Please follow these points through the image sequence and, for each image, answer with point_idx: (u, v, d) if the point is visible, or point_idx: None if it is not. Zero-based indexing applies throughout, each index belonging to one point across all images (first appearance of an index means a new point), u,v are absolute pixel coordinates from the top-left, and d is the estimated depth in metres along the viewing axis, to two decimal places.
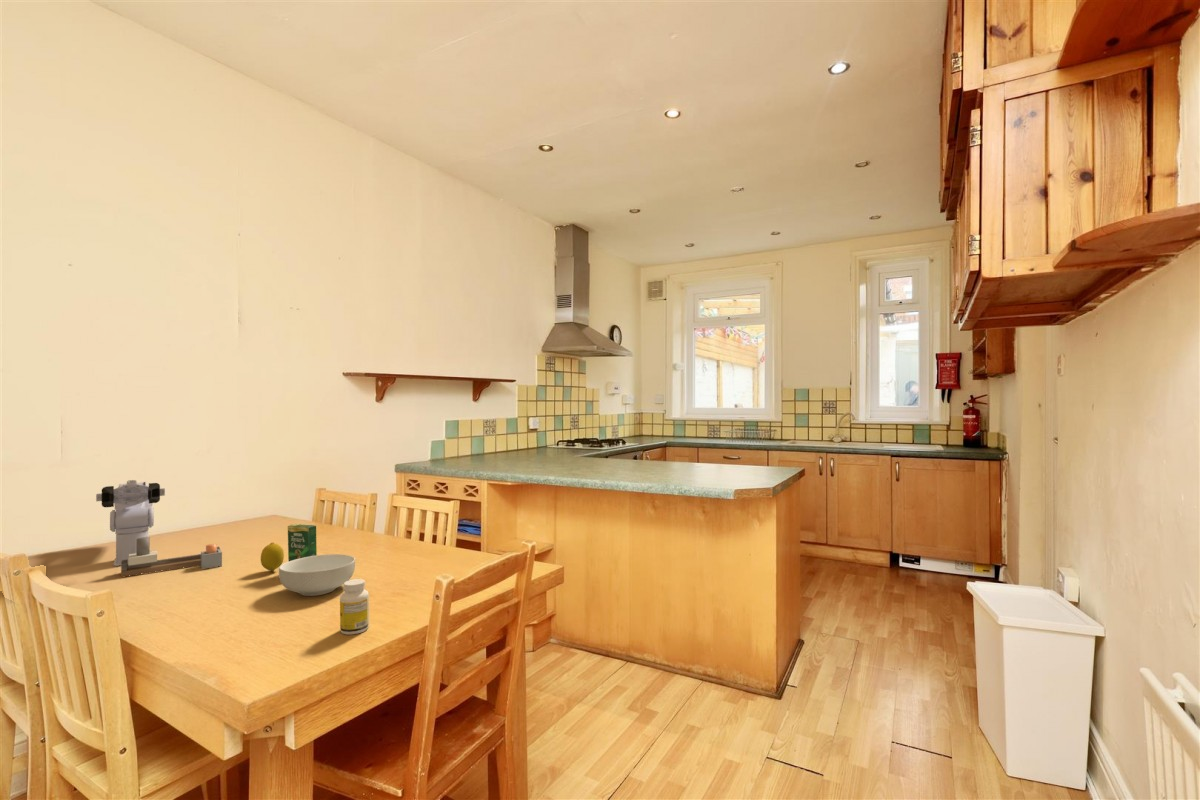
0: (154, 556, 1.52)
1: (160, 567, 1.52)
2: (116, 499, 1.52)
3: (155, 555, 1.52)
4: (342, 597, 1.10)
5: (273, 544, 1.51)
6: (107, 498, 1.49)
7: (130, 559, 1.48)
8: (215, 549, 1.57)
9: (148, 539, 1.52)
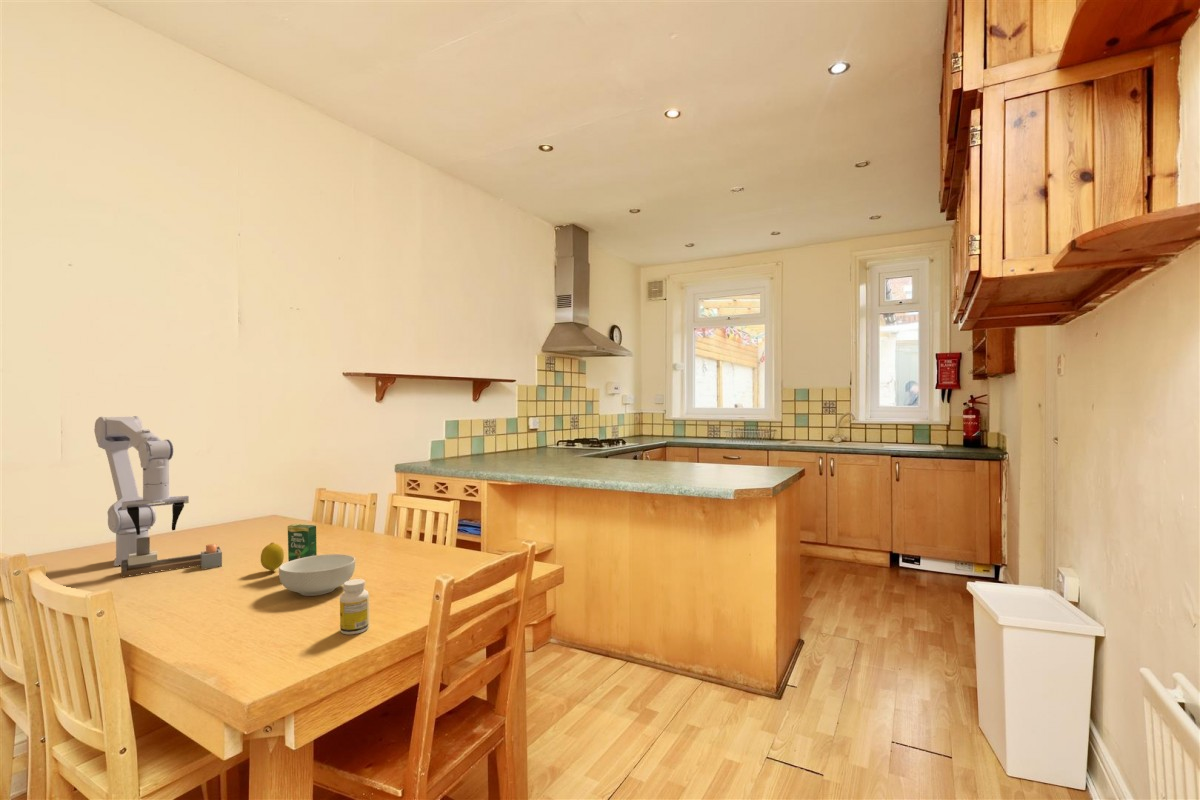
0: (154, 556, 1.52)
1: (160, 567, 1.52)
2: None
3: (155, 555, 1.52)
4: (342, 597, 1.10)
5: (273, 544, 1.51)
6: None
7: (130, 559, 1.48)
8: (215, 549, 1.57)
9: (148, 539, 1.52)
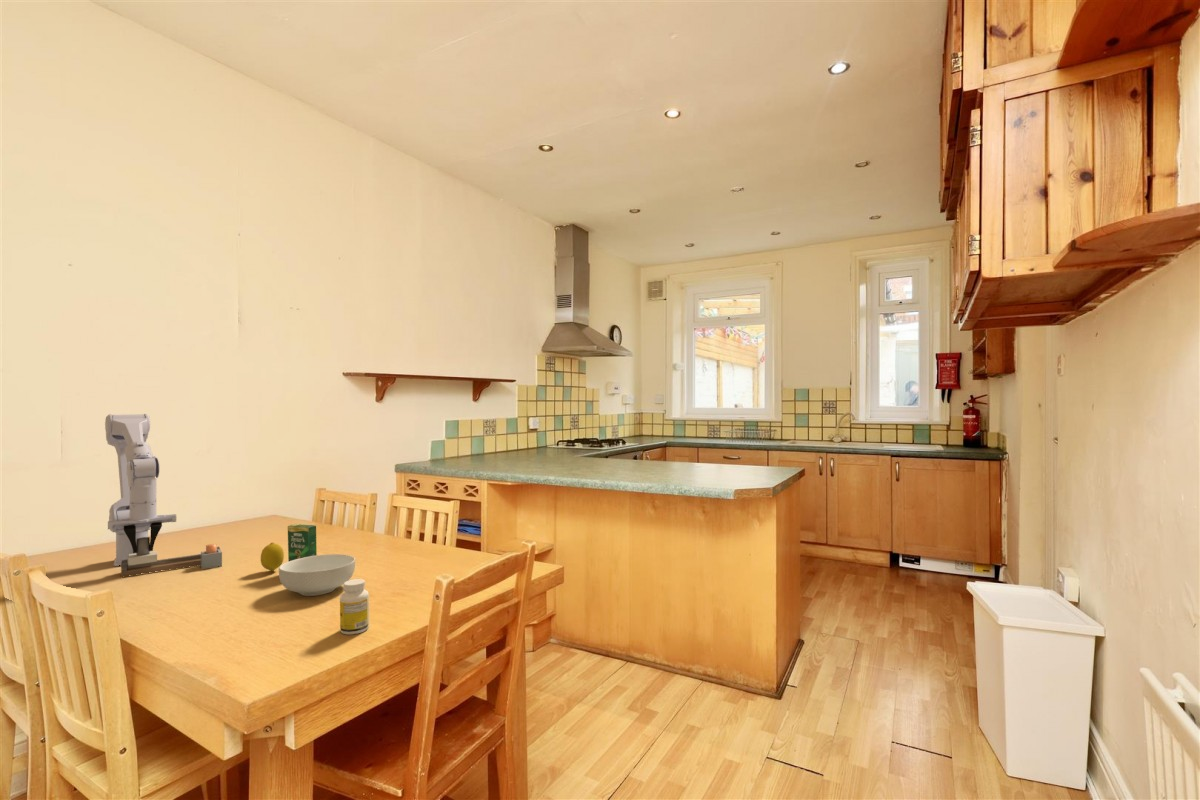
0: (154, 556, 1.52)
1: (160, 567, 1.52)
2: None
3: (155, 555, 1.52)
4: (342, 597, 1.10)
5: (273, 544, 1.51)
6: None
7: (130, 559, 1.48)
8: (215, 549, 1.57)
9: (148, 539, 1.52)
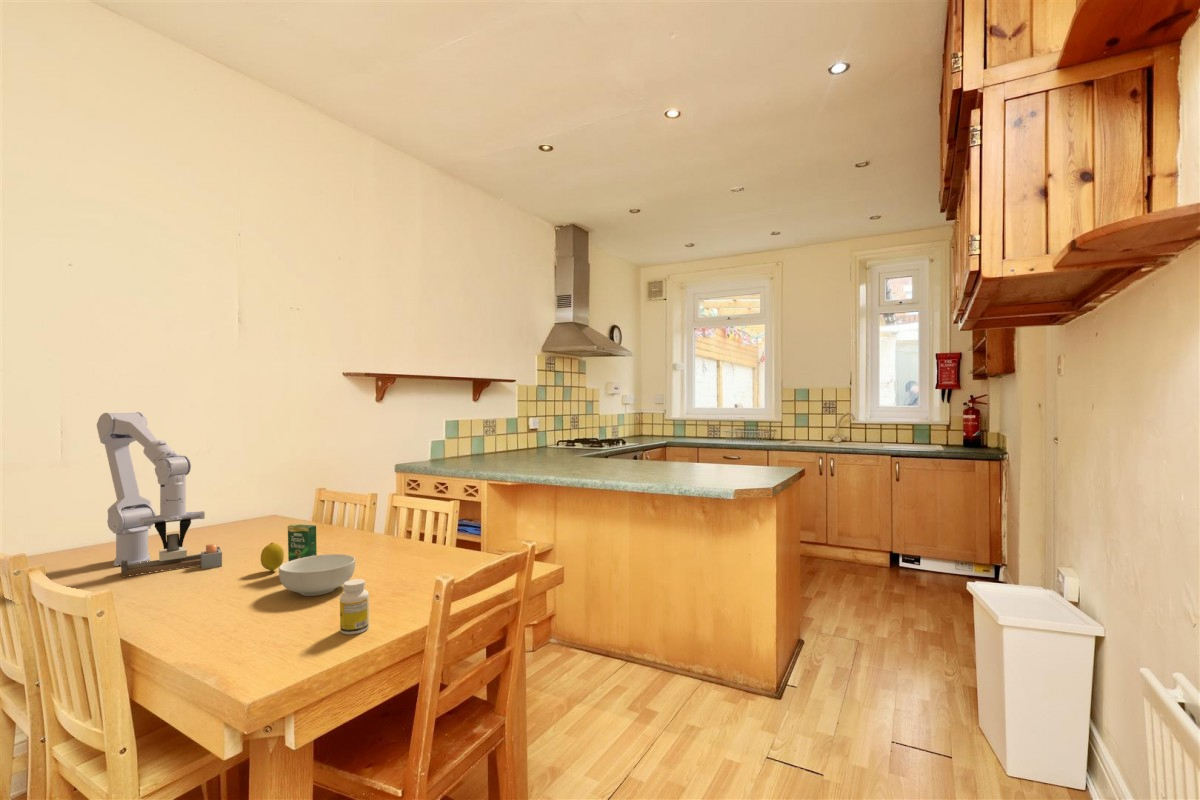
0: (184, 552, 1.56)
1: (160, 567, 1.52)
2: None
3: (185, 551, 1.56)
4: (342, 597, 1.10)
5: (273, 544, 1.51)
6: None
7: (161, 555, 1.53)
8: (215, 549, 1.57)
9: (178, 535, 1.56)
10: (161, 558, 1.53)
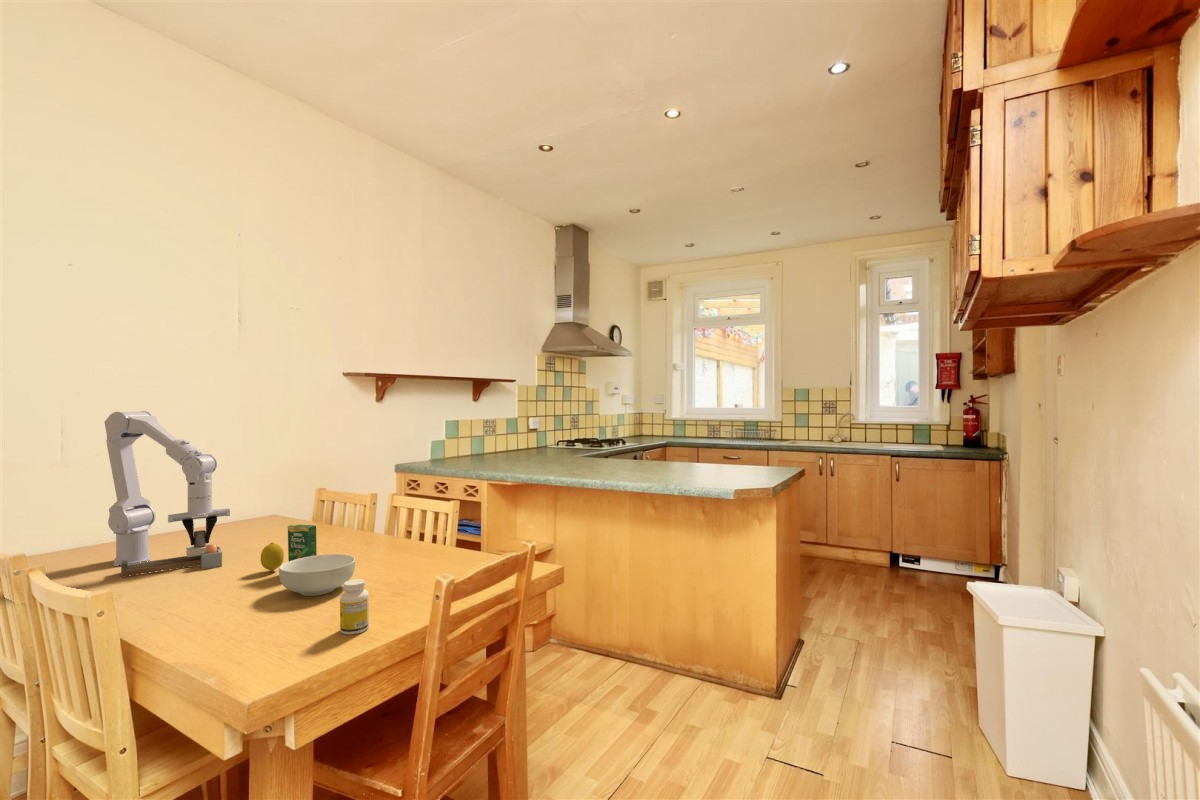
0: None
1: (160, 567, 1.52)
2: None
3: None
4: (342, 597, 1.10)
5: (273, 544, 1.51)
6: None
7: (189, 551, 1.56)
8: (215, 549, 1.57)
9: (204, 532, 1.60)
10: (189, 554, 1.56)
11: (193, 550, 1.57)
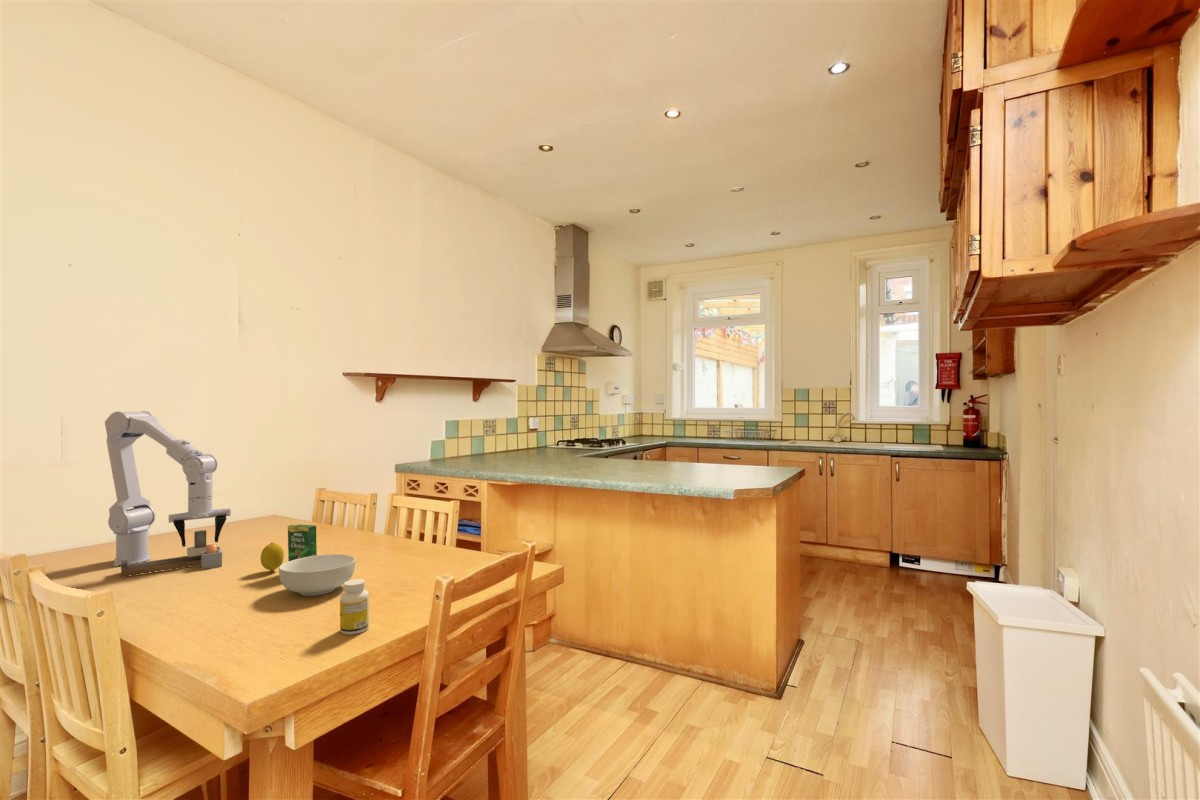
0: None
1: (160, 567, 1.52)
2: None
3: None
4: (342, 597, 1.10)
5: (273, 544, 1.51)
6: None
7: (189, 551, 1.57)
8: (215, 549, 1.57)
9: (205, 532, 1.60)
10: (189, 554, 1.57)
11: (194, 550, 1.57)
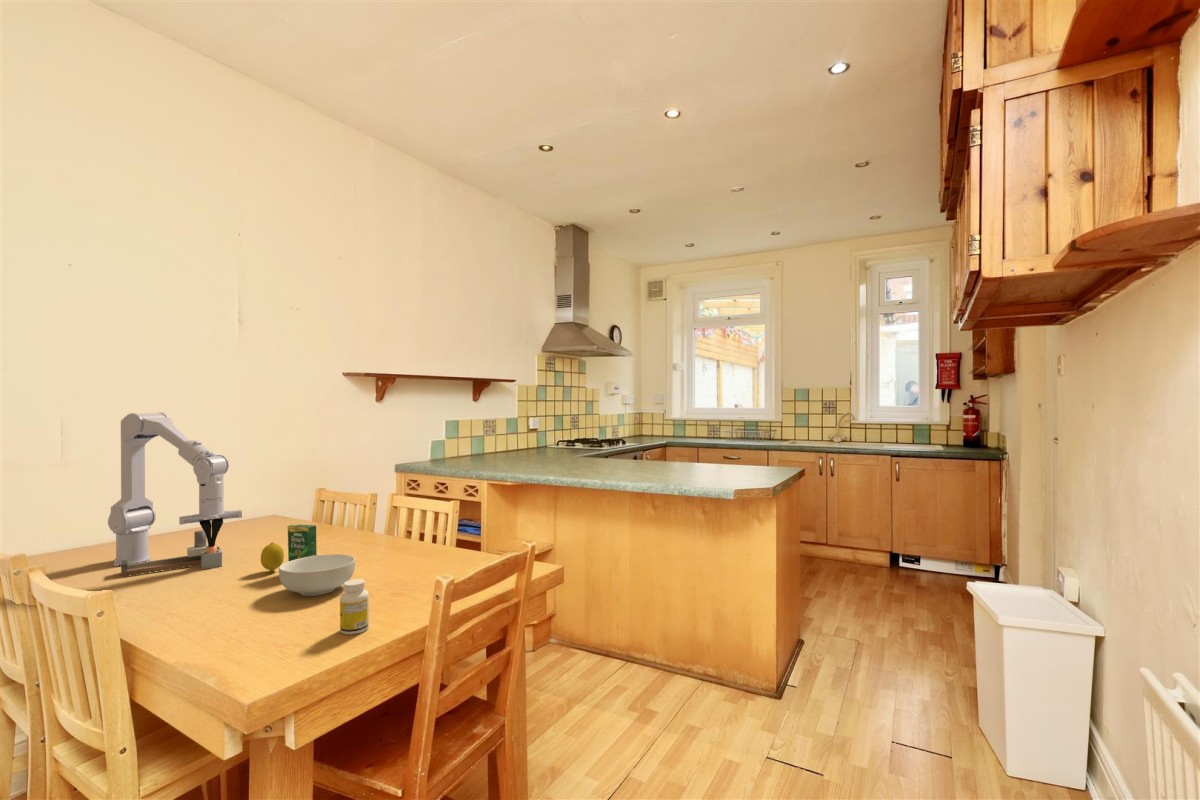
0: None
1: (160, 567, 1.52)
2: None
3: None
4: (342, 597, 1.10)
5: (273, 544, 1.51)
6: None
7: (189, 551, 1.57)
8: (215, 550, 1.57)
9: None
10: (189, 554, 1.57)
11: (194, 550, 1.57)
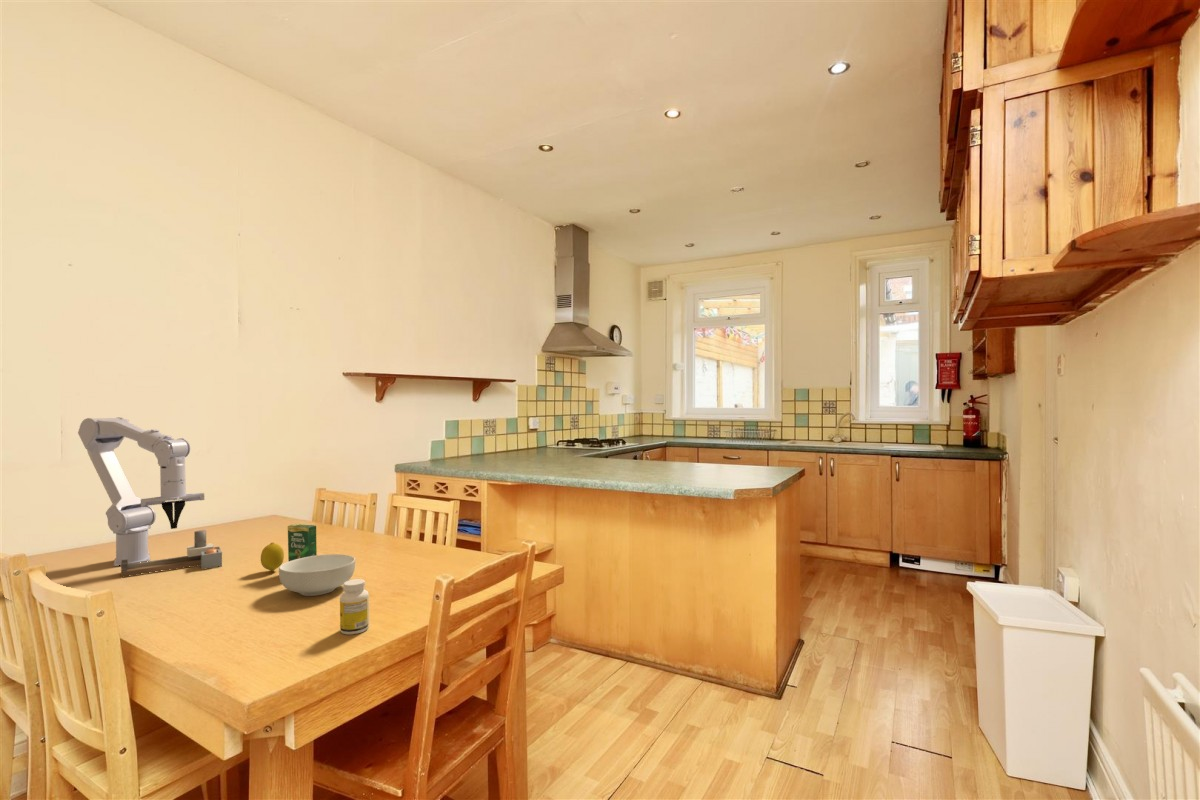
0: (211, 548, 1.60)
1: (160, 567, 1.52)
2: None
3: (212, 547, 1.60)
4: (342, 597, 1.10)
5: (273, 544, 1.51)
6: None
7: (189, 551, 1.57)
8: None
9: (205, 532, 1.60)
10: (189, 554, 1.57)
11: (194, 550, 1.57)
